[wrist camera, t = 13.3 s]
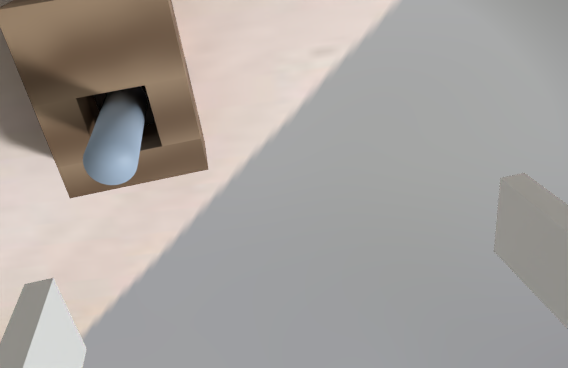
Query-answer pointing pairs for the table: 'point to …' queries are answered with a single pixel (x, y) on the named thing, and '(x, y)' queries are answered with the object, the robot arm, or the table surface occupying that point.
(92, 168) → the dowel
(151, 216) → the table surface
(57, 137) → the socket block
